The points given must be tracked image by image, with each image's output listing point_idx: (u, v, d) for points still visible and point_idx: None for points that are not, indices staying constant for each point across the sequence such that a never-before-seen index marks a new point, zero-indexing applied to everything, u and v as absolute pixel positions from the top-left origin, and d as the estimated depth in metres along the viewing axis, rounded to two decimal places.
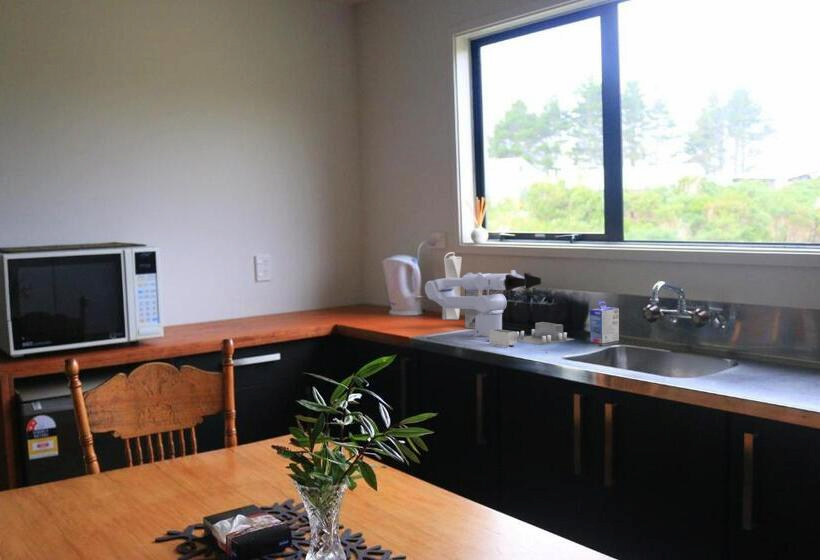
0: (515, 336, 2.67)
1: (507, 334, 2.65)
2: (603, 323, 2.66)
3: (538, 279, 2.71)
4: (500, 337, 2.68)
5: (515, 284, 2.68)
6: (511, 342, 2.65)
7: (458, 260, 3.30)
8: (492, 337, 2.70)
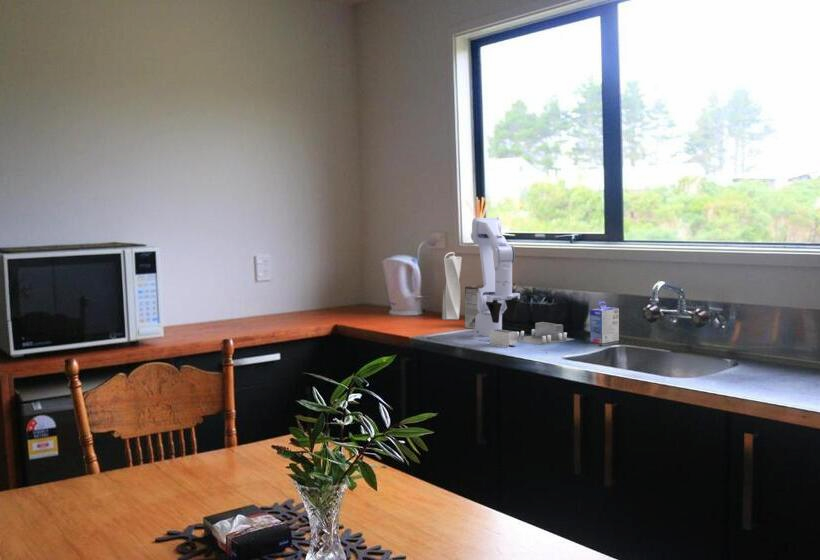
0: (515, 336, 2.67)
1: (507, 334, 2.65)
2: (603, 323, 2.66)
3: (511, 319, 2.70)
4: (500, 337, 2.68)
5: (493, 310, 2.66)
6: (511, 342, 2.65)
7: (458, 260, 3.30)
8: (492, 337, 2.70)
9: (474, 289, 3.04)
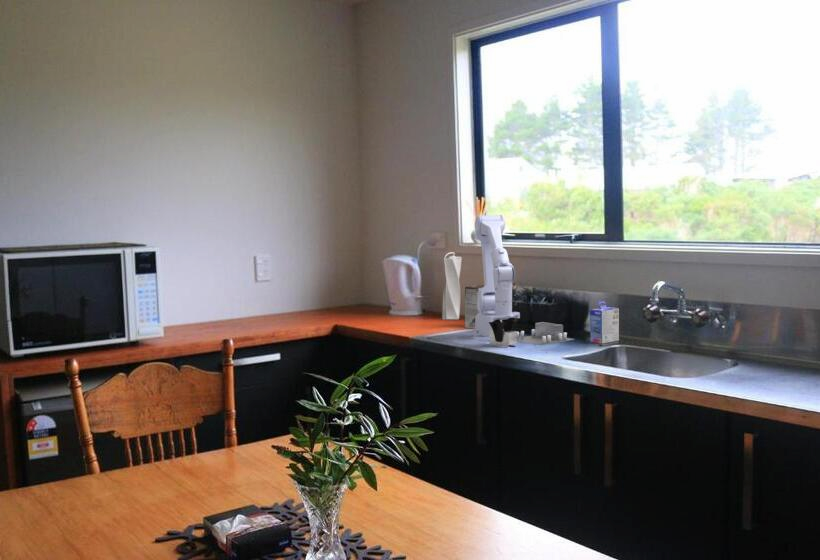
0: (515, 336, 2.67)
1: (507, 334, 2.65)
2: (603, 323, 2.66)
3: None
4: None
5: (496, 329, 2.68)
6: (511, 342, 2.65)
7: (458, 260, 3.30)
8: (492, 337, 2.70)
9: (474, 289, 3.04)
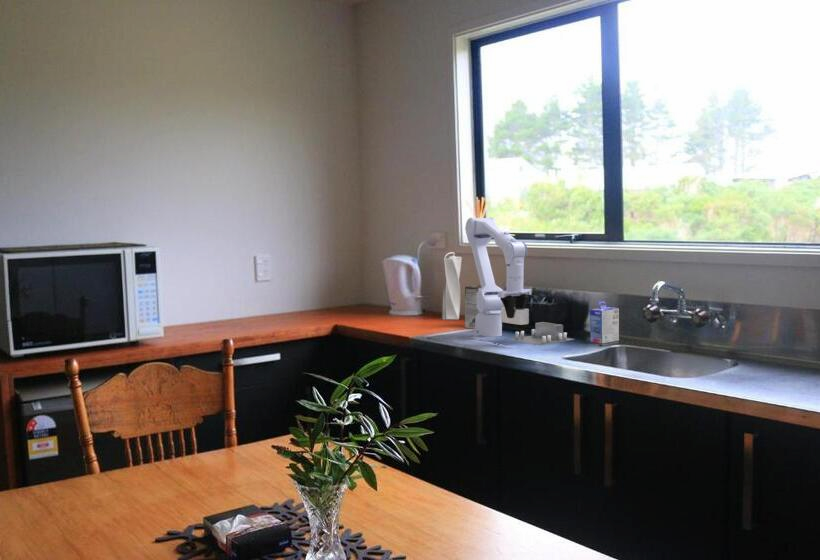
0: (527, 313, 2.67)
1: (519, 311, 2.65)
2: (603, 323, 2.66)
3: None
4: None
5: (507, 306, 2.68)
6: (523, 319, 2.65)
7: (458, 260, 3.30)
8: (504, 314, 2.70)
9: (474, 289, 3.04)
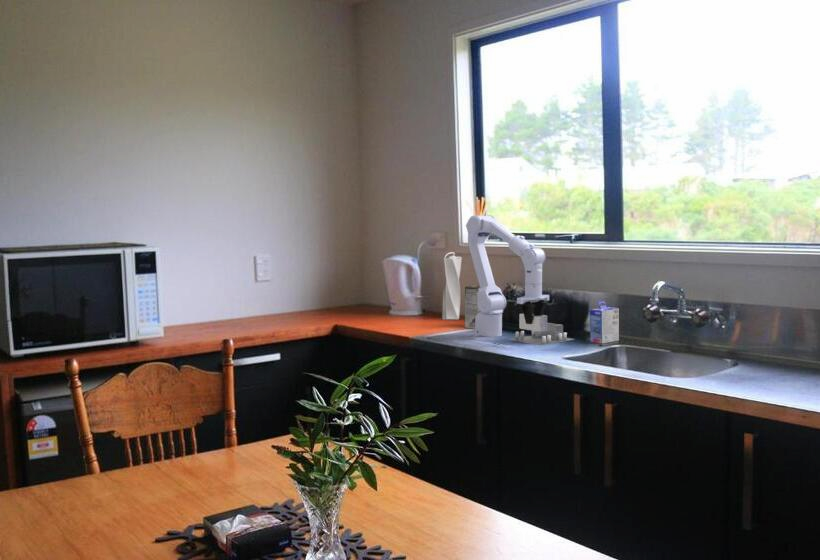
0: (545, 320, 2.68)
1: (538, 318, 2.67)
2: (603, 323, 2.66)
3: None
4: None
5: (526, 312, 2.69)
6: (541, 325, 2.67)
7: (458, 260, 3.30)
8: (522, 321, 2.72)
9: (474, 289, 3.04)
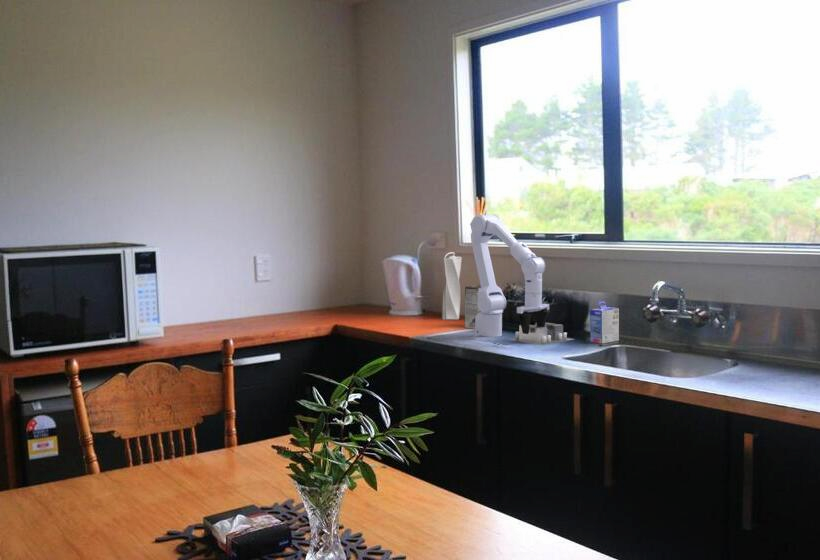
0: (545, 331, 2.69)
1: (537, 329, 2.67)
2: (603, 323, 2.66)
3: None
4: (530, 332, 2.70)
5: (523, 321, 2.69)
6: (541, 337, 2.68)
7: (458, 260, 3.30)
8: (522, 332, 2.73)
9: (474, 289, 3.04)
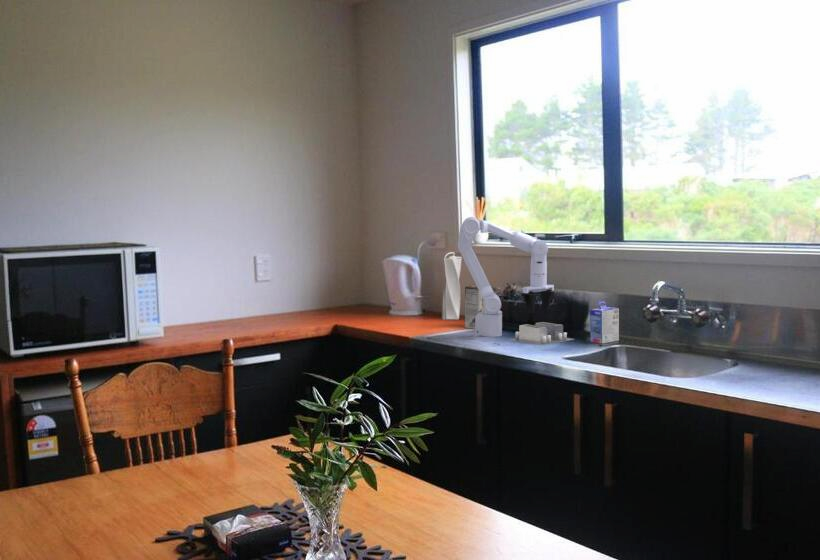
0: (545, 331, 2.69)
1: (537, 329, 2.67)
2: (603, 323, 2.66)
3: (545, 309, 2.84)
4: (530, 332, 2.70)
5: (528, 301, 2.80)
6: (541, 337, 2.68)
7: (458, 260, 3.30)
8: (522, 332, 2.73)
9: (474, 289, 3.04)
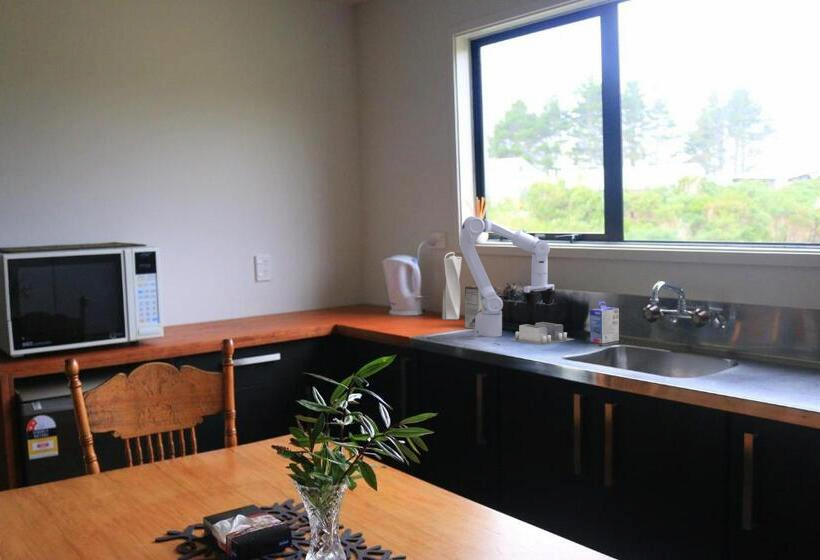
0: (545, 331, 2.69)
1: (537, 329, 2.67)
2: (603, 323, 2.66)
3: None
4: (530, 332, 2.70)
5: (529, 300, 2.82)
6: (541, 337, 2.68)
7: (458, 260, 3.30)
8: (522, 332, 2.73)
9: (474, 289, 3.04)
